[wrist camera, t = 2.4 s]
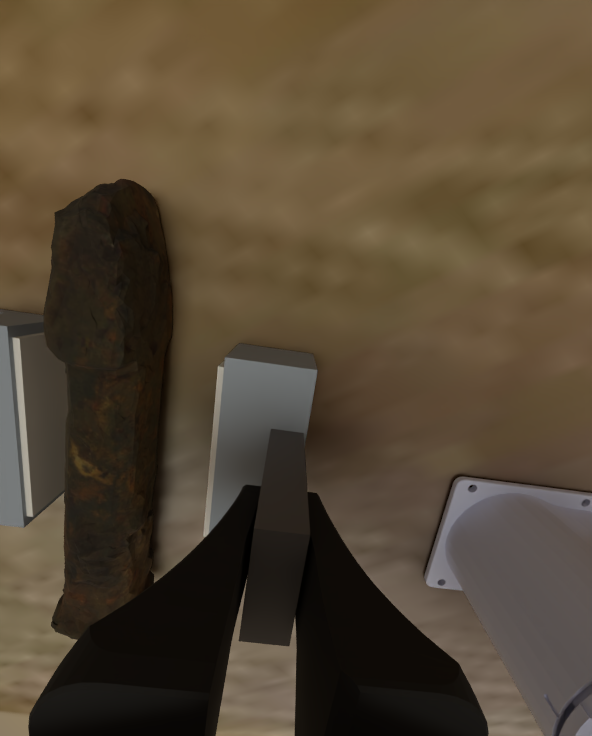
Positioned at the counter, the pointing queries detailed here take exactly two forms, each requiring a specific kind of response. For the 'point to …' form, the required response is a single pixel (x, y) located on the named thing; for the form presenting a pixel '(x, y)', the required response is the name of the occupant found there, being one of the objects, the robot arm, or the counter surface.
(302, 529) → the free jaw
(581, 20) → the counter surface
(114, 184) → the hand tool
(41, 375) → the fixed jaw
